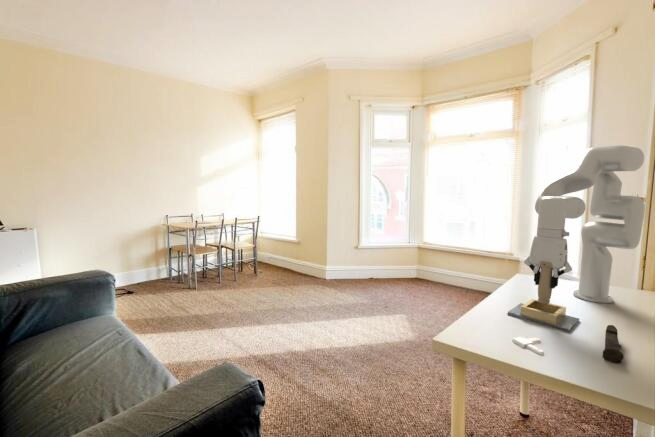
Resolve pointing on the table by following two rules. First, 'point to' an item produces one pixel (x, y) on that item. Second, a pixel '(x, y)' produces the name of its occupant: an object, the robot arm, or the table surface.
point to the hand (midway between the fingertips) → (545, 285)
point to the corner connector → (528, 343)
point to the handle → (545, 283)
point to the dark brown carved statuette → (612, 346)
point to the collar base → (545, 315)
